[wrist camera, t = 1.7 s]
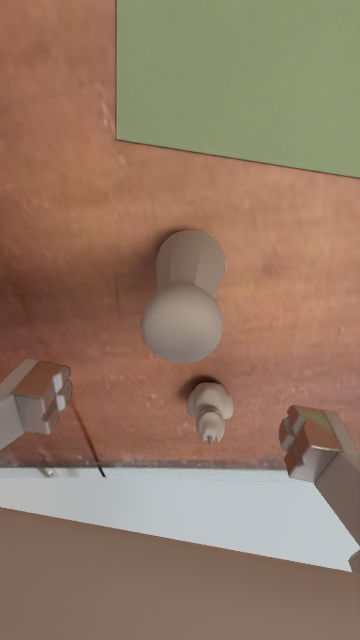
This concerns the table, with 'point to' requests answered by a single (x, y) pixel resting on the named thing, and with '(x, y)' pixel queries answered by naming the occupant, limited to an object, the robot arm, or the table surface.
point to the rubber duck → (210, 410)
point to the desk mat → (243, 79)
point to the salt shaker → (185, 298)
